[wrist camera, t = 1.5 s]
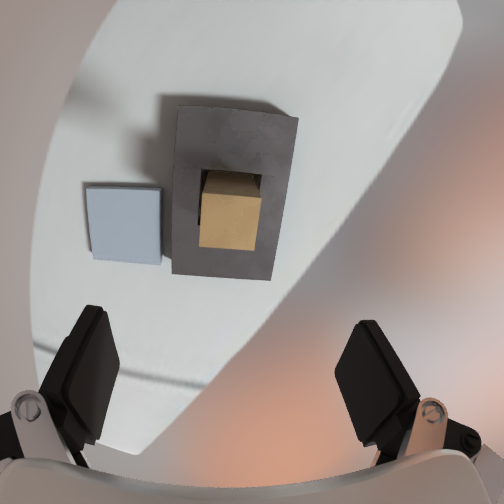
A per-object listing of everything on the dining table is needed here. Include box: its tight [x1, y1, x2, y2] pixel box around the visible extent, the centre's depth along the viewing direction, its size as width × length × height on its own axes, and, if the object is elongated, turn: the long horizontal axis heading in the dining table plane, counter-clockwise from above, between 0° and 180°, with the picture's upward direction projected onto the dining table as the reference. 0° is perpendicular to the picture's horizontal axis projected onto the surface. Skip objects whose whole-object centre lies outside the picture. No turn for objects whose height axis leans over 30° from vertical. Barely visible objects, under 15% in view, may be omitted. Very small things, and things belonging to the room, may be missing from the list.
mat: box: [86, 186, 162, 265], centre depth 26 cm, size 8×8×1 cm
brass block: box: [199, 171, 262, 251], centre depth 23 cm, size 4×4×8 cm
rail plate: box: [171, 105, 299, 281], centre depth 25 cm, size 16×10×2 cm, turn 173°
